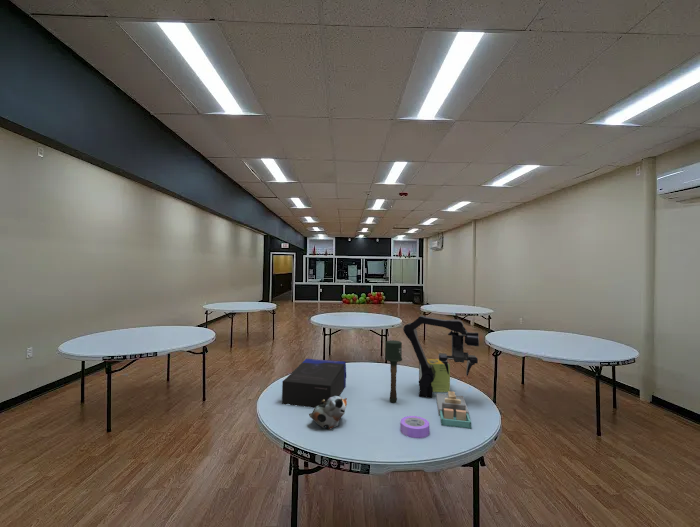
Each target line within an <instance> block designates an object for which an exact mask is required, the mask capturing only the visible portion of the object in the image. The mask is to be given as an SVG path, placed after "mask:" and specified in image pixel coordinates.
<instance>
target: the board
mask: <svg viewBox="0 0 700 527" xmlns="http://www.w3.org/2000/svg"><path fill="white" fill-rule="evenodd" d="M435 393H436V405H437V412H438V417H440V411H442V415H443V416H444V410H442V402H444V403H445V398H448V393H447V394H445V393H438V392H435ZM455 395H456V394H455ZM456 399H459V400H461V404H464V405H466V413H468V415H469V416H470V412H469V408H468V406H467V404H466V401H465V398H464V396H463V395H456ZM453 417H456V411H453Z"/></svg>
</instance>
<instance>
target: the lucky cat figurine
mask: <svg viewBox="0 0 700 527" xmlns="http://www.w3.org/2000/svg"><path fill="white" fill-rule="evenodd" d="M347 399H348V397H347V398H346V397H345V398H343V397H341V396H333V397H330V398H329V399H328V400H327V402H325V400H324V399H323V400H322V401H321V404H320V405H318V406H316V407H315V408H313V410H312V412H310V413H308V415H309V418H311V419H312V421H314V422H315V423H316V424H317V425H318V426H320V427H322V428H324V429H325V428H326V429H327V430H331V429H333V428H336V427H338V426H339V422H340V419H341V418H342V417H343V416H345V413H346V408H347V405H348V404H347V403H348V401H347Z"/></svg>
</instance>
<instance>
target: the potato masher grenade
mask: <svg viewBox="0 0 700 527" xmlns="http://www.w3.org/2000/svg"><path fill="white" fill-rule="evenodd" d="M402 344H403V342H402V341H400V340H395V339H393V340H392V339H391V340H386V342H385V361H388V362H389V363H390V364H389V365H390V391H389V402H390V403H392V404H395V403H397V400H398V397H397V394H398V393H397V372H398V362H399V363H400V362H402V361H403V358H402V352H403V351H402V350H403V349H402V347H403V345H402Z"/></svg>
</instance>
